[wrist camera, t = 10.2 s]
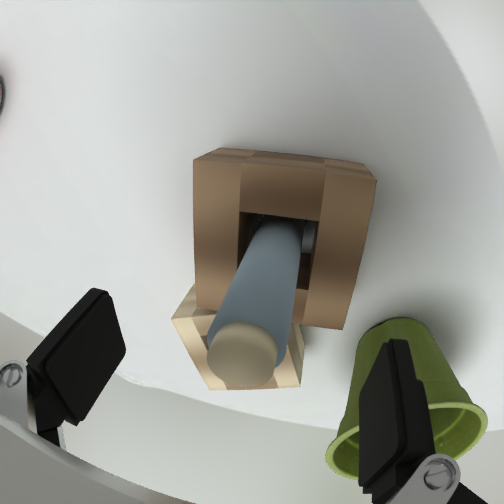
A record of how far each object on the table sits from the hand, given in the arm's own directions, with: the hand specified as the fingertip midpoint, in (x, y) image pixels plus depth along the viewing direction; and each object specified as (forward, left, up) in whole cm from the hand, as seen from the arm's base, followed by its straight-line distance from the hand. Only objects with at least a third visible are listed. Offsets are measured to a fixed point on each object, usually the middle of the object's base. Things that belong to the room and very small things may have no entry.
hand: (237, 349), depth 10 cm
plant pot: (+11, +11, -14) cm, 22 cm away
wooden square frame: (+1, 0, -14) cm, 14 cm away
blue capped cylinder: (+1, 0, -14) cm, 14 cm away
